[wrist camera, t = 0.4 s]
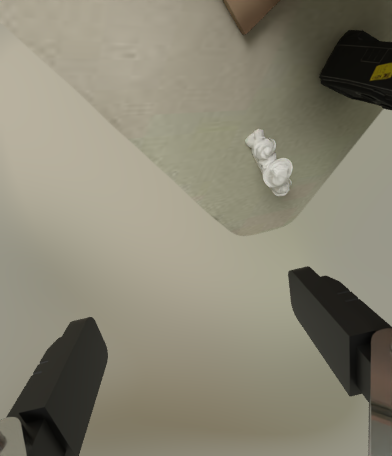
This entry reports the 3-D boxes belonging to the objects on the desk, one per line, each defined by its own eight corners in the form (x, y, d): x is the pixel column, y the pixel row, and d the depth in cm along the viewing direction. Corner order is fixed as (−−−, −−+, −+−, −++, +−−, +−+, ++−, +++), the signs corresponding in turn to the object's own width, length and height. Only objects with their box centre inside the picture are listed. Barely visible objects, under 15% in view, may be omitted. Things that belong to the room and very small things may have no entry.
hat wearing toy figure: (232, 127, 37) (256, 162, 28) (256, 112, 36) (289, 142, 27) (255, 173, 42) (282, 215, 33) (277, 161, 41) (310, 200, 32)
